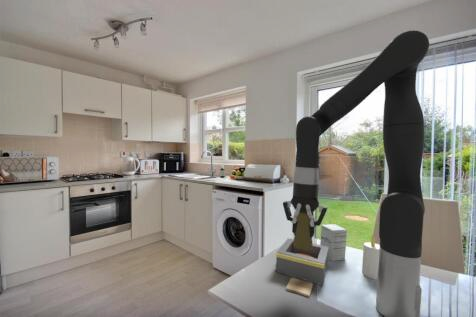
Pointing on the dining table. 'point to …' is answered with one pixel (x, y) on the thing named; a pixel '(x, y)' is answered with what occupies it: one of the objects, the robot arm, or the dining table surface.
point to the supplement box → (334, 241)
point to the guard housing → (303, 262)
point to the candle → (371, 259)
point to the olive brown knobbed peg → (303, 232)
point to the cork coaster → (299, 287)
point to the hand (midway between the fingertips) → (302, 235)
